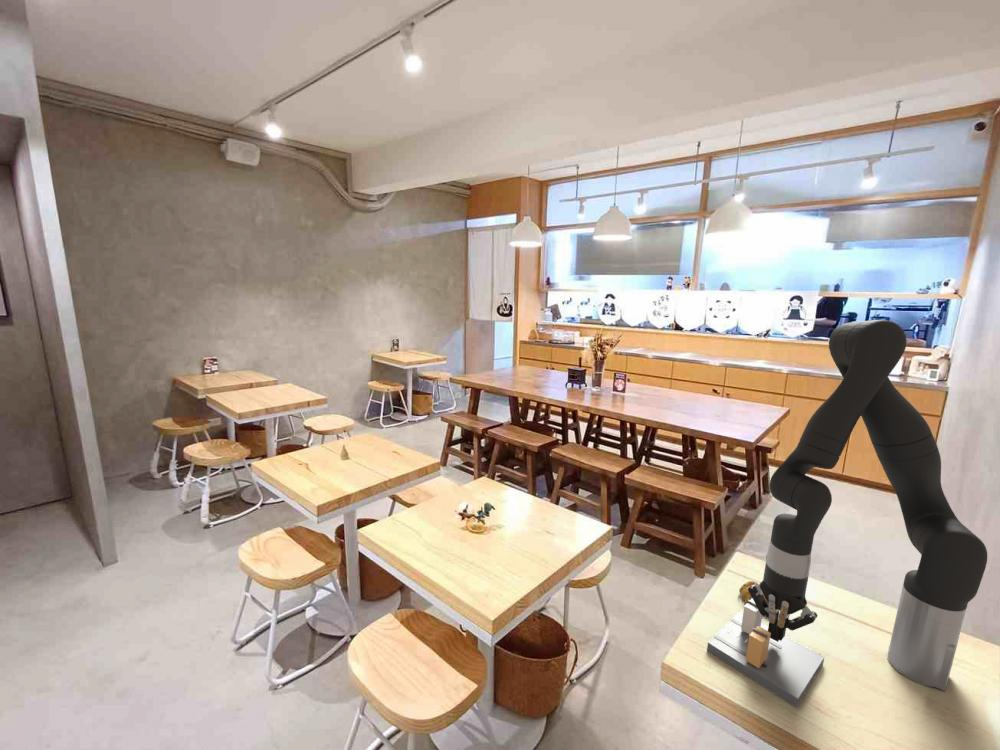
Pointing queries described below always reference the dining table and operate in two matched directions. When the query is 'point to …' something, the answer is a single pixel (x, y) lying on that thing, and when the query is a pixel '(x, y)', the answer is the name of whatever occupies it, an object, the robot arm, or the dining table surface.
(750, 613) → the cream fader
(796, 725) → the dining table surface
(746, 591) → the pastry
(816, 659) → the console
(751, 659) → the orange fader
